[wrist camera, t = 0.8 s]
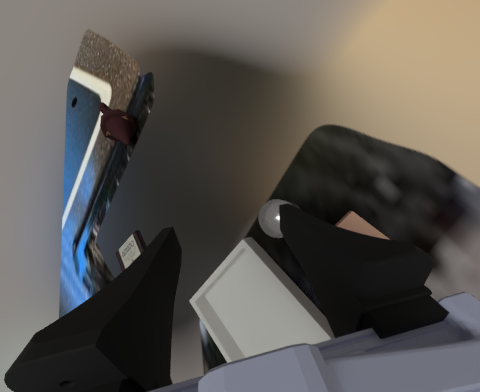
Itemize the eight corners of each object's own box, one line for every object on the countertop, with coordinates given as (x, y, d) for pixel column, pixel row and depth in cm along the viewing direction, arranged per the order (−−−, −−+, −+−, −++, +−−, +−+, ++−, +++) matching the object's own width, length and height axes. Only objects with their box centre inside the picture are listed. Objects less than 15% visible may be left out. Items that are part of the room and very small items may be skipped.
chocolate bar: (143, 330, 36) (115, 253, 43) (147, 327, 37) (120, 252, 44) (169, 309, 34) (135, 230, 40) (173, 307, 35) (139, 230, 41)
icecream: (126, 121, 35) (107, 88, 42) (98, 146, 35) (84, 110, 42) (153, 142, 41) (133, 110, 48) (129, 163, 41) (113, 129, 48)
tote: (342, 335, 22) (343, 352, 19) (267, 392, 25) (259, 413, 22) (251, 236, 28) (242, 239, 25) (201, 293, 31) (189, 300, 29)
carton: (379, 234, 21) (391, 240, 17) (344, 266, 22) (346, 278, 18) (349, 211, 22) (352, 211, 18) (317, 242, 24) (314, 248, 20)
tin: (310, 216, 24) (304, 217, 19) (288, 239, 25) (278, 246, 20) (285, 195, 26) (274, 191, 21) (266, 217, 27) (251, 219, 22)
